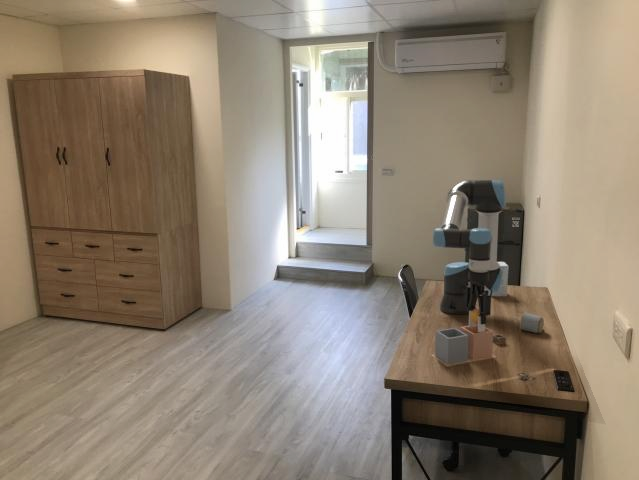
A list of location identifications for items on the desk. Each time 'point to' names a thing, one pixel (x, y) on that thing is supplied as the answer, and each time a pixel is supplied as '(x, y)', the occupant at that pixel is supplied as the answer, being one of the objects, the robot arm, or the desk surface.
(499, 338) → the stand
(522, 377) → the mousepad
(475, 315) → the ball
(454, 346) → the double square tube
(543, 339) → the desk surface
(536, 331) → the ceramic mug
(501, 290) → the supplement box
